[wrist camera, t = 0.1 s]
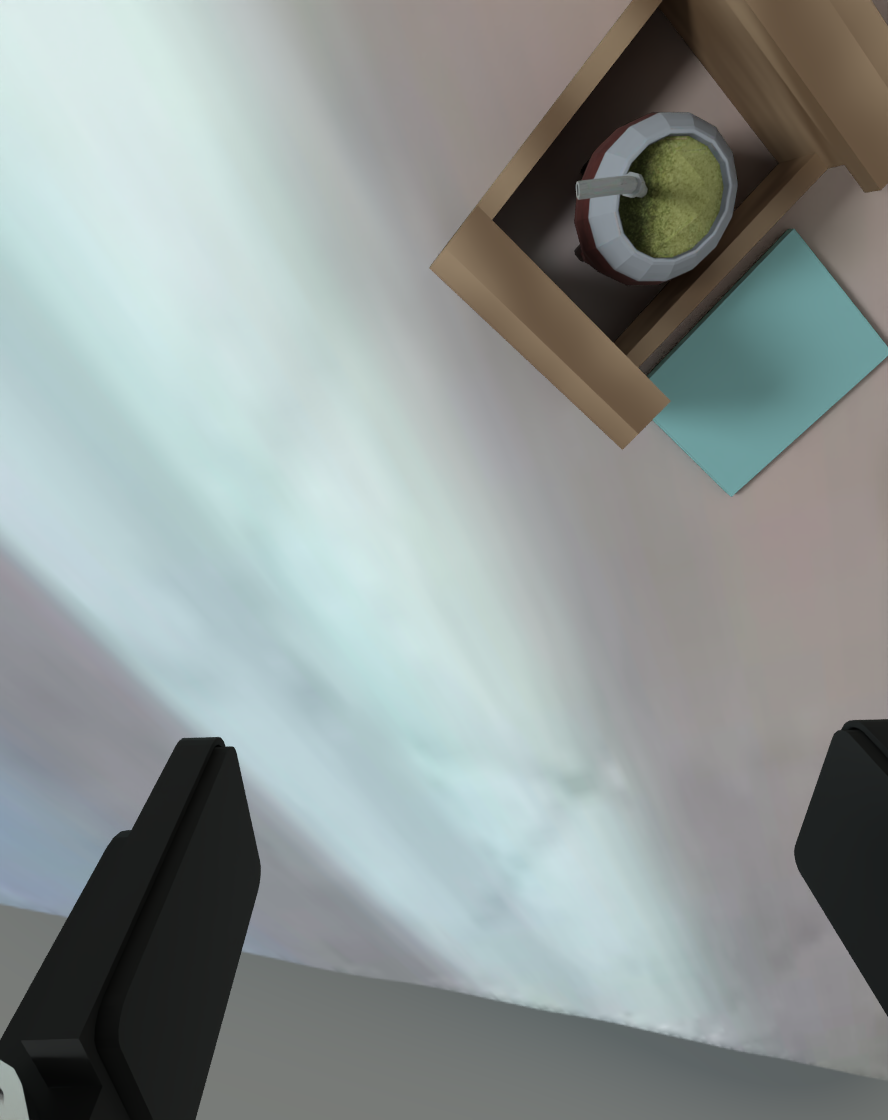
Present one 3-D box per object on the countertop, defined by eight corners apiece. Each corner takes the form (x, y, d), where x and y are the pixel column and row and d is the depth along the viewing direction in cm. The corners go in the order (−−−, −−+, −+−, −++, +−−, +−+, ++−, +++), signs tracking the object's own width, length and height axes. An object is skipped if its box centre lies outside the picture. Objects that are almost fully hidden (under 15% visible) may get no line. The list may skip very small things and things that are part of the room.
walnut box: (658, -34, 29) (762, -170, 20) (805, 161, 32) (949, 121, 23) (429, 267, 34) (429, 268, 25) (576, 405, 38) (622, 449, 29)
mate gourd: (710, 212, 33) (899, 177, 20) (598, 321, 36) (700, 355, 22) (627, 94, 31) (779, -37, 18) (513, 219, 33) (570, 188, 20)
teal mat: (788, 229, 34) (793, 228, 33) (885, 350, 37) (891, 352, 36) (627, 395, 38) (630, 397, 37) (727, 493, 41) (731, 496, 40)
